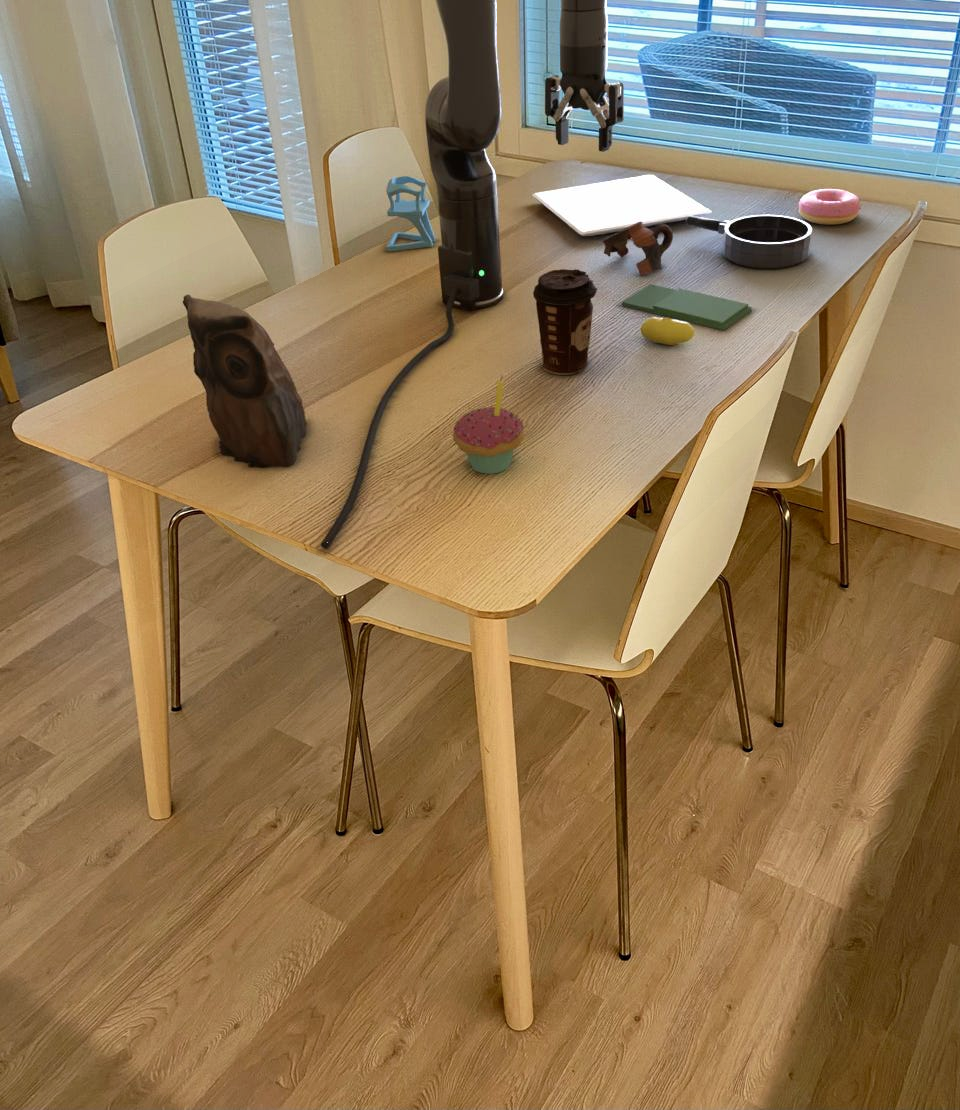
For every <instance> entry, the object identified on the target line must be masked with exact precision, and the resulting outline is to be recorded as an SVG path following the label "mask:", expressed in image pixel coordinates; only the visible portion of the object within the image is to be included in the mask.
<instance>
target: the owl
mask: <svg viewBox="0 0 960 1110" xmlns="http://www.w3.org/2000/svg"><path fill="white" fill-rule="evenodd" d="M182 299H183V300H182V304H183V306H184V307H185V309H186V317H187V327H188V330H189V332H190V333H189V334H190V338H191V340H192V343H193V344H192V345H193V349H194V352H193V355H192V356H193V363H192V364H193V372H194V374H195V376H196V377H197V379H199V380H200V382H201V384H202V387H203V389H204V390H205V395H206V396H205V400H206V410H207V412H208V417H209V421H210V422H211V425H212V427H213V428H214V431H215V432H216V434H217V436H218V438H219V441H218V444H219V445H218V448H219V453H220V455H221V456H223V457H224V456H225V457H231V458H234V460H233V461H234V462H237V463H238V462H240V463H244V464H247V467H248V468H259V469H264V468H271V467H273V468H274V467H276V468H277V467H284V468H290V467H291V466H293V465H294V464H295V463H296V462H297V459H298V452H299V451H300V450H301V444H302V441H303V439H304V438H305V437H306V435H307V430H306V429H307V426H308V425H307V424H308V423H307V421H306V420H307V419H306V412H305V407H304V406H303V400H302V397H301V395H300V394H299V392H298V390H297V387H296V385H295V382H294V380H293V378H292V376H291V373H290V372H289V369H288V368H287V366H286V365H285V363H284V361H283V360H282V358H281V356H280V355H279V353H278V351H277V350H276V349H277V348H276V347H275V343H274V342H273V340H272V338H271V337H270V335H269V333H268V332H267V330H266V329H265V327H263V326H262V324H260V323H259V322H258V321H257V320H256V319H255V318H253V316H251V315H250V314H249V313H248V312H247V311H246V310H244V309H242V308H240V307H238V306H232V305H230V304H229V303H225V302H220V301H217V300H209V299H203V298H197V297H193V296H191V295H190V294H185V295H184V296H183V298H182Z"/></svg>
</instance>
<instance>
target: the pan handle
mask: <svg viewBox="0 0 960 1110" xmlns="http://www.w3.org/2000/svg"><path fill="white" fill-rule="evenodd" d="M731 221H732V220H717V219H712V218H707V217H703V216H700V217H696V216H689V217H688V218H687V219H686V220H685V224H686V225H687V226H688V227H692V228H696V229H702V230H708V231H712V232H717V234H720V235H724V228H725V226H726V225H727V224H728V223H729V222H731Z"/></svg>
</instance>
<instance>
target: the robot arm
mask: <svg viewBox="0 0 960 1110" xmlns="http://www.w3.org/2000/svg"><path fill="white" fill-rule="evenodd" d="M607 1H608V0H560V16H559V17H560V18H559V71H560V73H561V77H560V75H558V74H554V75H552V76H548V77H546V78H545V80H544V115H545V116H546V117H551V118H553V121H554V123H555V140H556V141H557V145H559V146H564V145H567V144H568V143H569V142H570V141H569V139H570V138H569V137H570V135H569V133H570V130H569V129H570V128H569V125H570V124H569V121H570V119H567V118H568V117H569V115H570V114H571V112H572V110H573V109H574V110H575V109H576V110H578V109H581V110H584V111H589V112H590V114H591V115H592V116H593V117H595V119H596V121H597V123H598V125H599V128H598V152H602V153H603V152H606V151H609V150H610V148H611V147H612V145H613V127H614V126H615V125H618V124H620V123H623V122H624V120H625V119H624V118H625V108H624V107H625V105H624V102H625V101H624V100H625V97H624V95H625V94H624V93H625V92H624V89H625V88H624V83H623V82H620V81H619V82H616V83H611V82H610V83H609V82H608V81H607V78H606V74H607V70H608V50H609V49H608V46H609V45H608V43H609V42H608V41H609V40H608V39H609V34H608V33H609V20H608V12H607V11H608V9H607ZM435 3H436V7H437V10H438V15H439V18H440V21H441V25H442V28H443V31H444V36H445V42H446V46H447V47H446V48H447V56H448V59H447V61H448V70H447V71H448V75H447V76H446V77H443V78H441V79H440V80H438V81H437V82H436V83H435V84H434V85H433V86H432V87H431V89H430V90H429V93H428V95H427V98H426V101H425V107H424V124H425V135H426V141H427V142H426V143H427V149H428V158H429V167H430V169H431V173H432V176H433V178H434V181H435V185H436V193H437V203H438V204H437V205H438V216H439V227H440V228H439V229H440V238H441V239H440V240H441V244H439V245H438V246H437V257H438V266H439V267H438V268H439V279H440V288H441V289H440V290H441V291H440V292H441V300H442V304H444V305H446V308H445V315H446V320H447V330H446V332H445V333H444V334H443V335H442V336H441V337H439V338H436V339H435V340H433V341H431V342H429V344H427V345H426V346H425V347H424V348H422V349H421V350H420V352H418V353H417V354H416V355H415V356H413V358H412V359H411V360H409V362H407V364H406V365H404V367H403V368H402V369H401V370H400V372H399V373H398V374H397V375H396V376H395V377H394V379H393V380H392V382H391V383H390V384H389V386H388V388H387V389H386V390H385V392H384V394H383V396H382V398H381V399H380V401H379V403H378V405H377V408H376V410H375V412H374V415H373V417H372V419H371V422H370V425H369V429H368V432H367V435H366V439H365V443H364V446H363V449H362V453H361V456H360V460H359V464H358V467H357V470H356V474H355V477H354V480H353V483H352V486H351V488H350V491H349V494H348V496H347V498H346V501H345V503H344V505H343V507H342V509H341V511H340V513H339V514H338V516H337V518H336V519H335V520H334V523H333V524H332V526H331V527H330V529H329V530H328V532H327V533H326V535H325V537H323V540H322V541H321V543H320V545H321V548H323V549H325V550H327V549H329V548H330V546H331V544H332V542H333V541H334V540H335V538H336V536H337V535H338V533H339V532H340V530H341V528H342V527H343V525H344V523H345V522H346V520H347V518H348V517H349V515H350V513H351V511H352V509H353V507H354V504H355V503H356V500H357V498H358V496H359V492H360V490H361V486H362V483H363V481H364V478H365V474H366V470H367V467H368V464H369V460H370V455H371V451H372V448H373V445H374V441H375V437H376V433H377V430H378V426H379V424H380V421H381V419H382V416H383V413H384V411H385V408H386V406H387V404H388V402H389V400H390V399H391V397H392V395H393V394H394V392H395V390H396V389H397V387H398V386H399V385H400V383H401V382H402V381H403V380H404V378H405V377H406V376H407V375H408V374H409V372H410V371H412V370H413V368H414V367H416V366H417V365H418V363H419V362H421V361H422V360H423V359H424V358H425V357H426V356H427V355H428V354H430V353H431V352H432V351H433V350H434V349H436V348H437V347H439V346H441V345H443V344H444V343H446V342H447V341H449V340H450V338H451V337H452V336H453V333H454V330H455V321H454V315H453V309H454V307H455V308H459V309H462V310H466V311H469V312H472V311H474V310H477V309H482V308H487V307H490V306H493V305H496V304H498V303H499V302H501V301H502V299H503V298H504V289H503V280H502V279H503V278H502V262H501V261H502V260H501V259H502V258H501V241H500V218H499V202H498V180H497V174H496V170H495V169H494V167H493V166H492V164H491V162H490V160H489V158H488V155H487V150H486V149H487V148H488V147H490V146H491V145H492V143H493V142H494V140H495V139H496V138H497V136H498V133H499V132H500V131H499V130H500V127H501V124H502V123H501V122H502V115H503V114H502V97H501V87H500V75H499V64H498V63H499V62H498V52H497V51H498V50H497V0H435ZM561 91H562V93H563V94H564V95H563V97H562V98H561V100H560V93H561ZM605 94H606V97H605ZM607 98H608V101H607ZM598 105H599V106H598ZM327 542H328V543H327Z"/></svg>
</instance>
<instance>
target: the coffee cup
mask: <svg viewBox="0 0 960 1110" xmlns="http://www.w3.org/2000/svg"><path fill="white" fill-rule="evenodd" d="M597 291H598V288H597V287H596V285H595V284H594V280H593V279H592V280H591V278H590V276H589V274H587V272H586V271H583V270H580V269H565V268H563V269H562V268H561V269H553V270H549V271H547V272H546V273H543V274H542V275H540V276H539V277H538V279H537V284H536V285H535V286H534V289H533V292H532V295H533V298H534V300H535V306H536V314H537V315H536V316H537V322H538V332H539V343H540V348H541V356H542V369H543V370H544V371H545V372H547V373H550V374H553V375H558V376H559V375H560V376H561V375H562V376H568V375H573V374H577V373H581V372H582V371H583V370H585V369H586V367H587V366H588V358H589V357H588V355H589V354H588V353H589V347H590V343H591V342H590V341H591V334H592V324H593V323H592V322H593V312H594V304H593V302H592V299H593V298H594V297H595V296H596V294H597Z"/></svg>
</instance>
